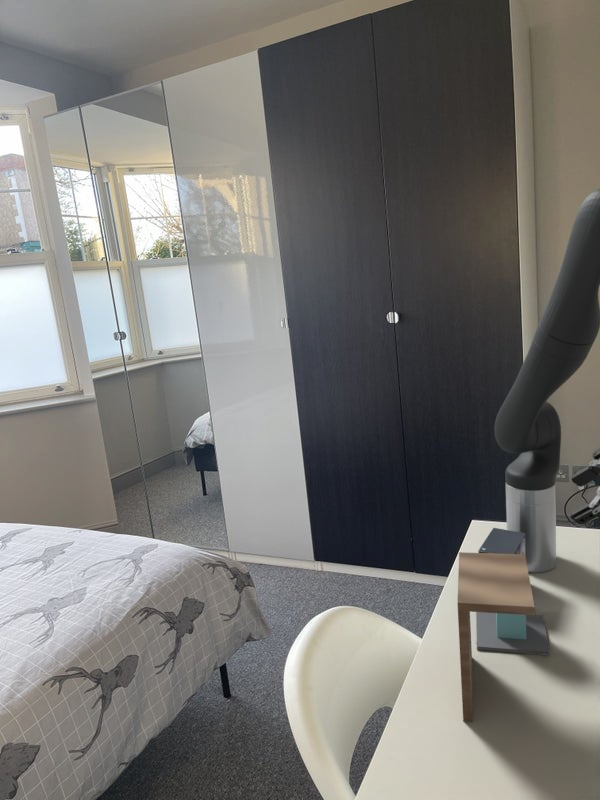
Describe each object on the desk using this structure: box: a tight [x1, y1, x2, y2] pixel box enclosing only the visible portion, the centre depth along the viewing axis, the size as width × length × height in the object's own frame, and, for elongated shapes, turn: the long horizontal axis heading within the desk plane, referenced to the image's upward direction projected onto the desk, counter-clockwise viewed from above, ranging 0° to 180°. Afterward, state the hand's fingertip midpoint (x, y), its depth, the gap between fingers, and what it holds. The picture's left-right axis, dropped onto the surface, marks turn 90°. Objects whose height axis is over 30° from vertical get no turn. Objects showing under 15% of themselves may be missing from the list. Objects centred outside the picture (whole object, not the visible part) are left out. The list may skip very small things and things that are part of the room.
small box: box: [477, 527, 525, 554], centre depth 112 cm, size 11×6×10 cm, turn 148°
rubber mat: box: [475, 612, 551, 656], centre depth 101 cm, size 10×11×1 cm
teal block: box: [496, 613, 526, 639], centre depth 99 cm, size 4×4×12 cm
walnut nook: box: [457, 551, 536, 723], centre depth 86 cm, size 14×10×18 cm
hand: (574, 500), depth 96 cm, fingers open, 8 cm apart
